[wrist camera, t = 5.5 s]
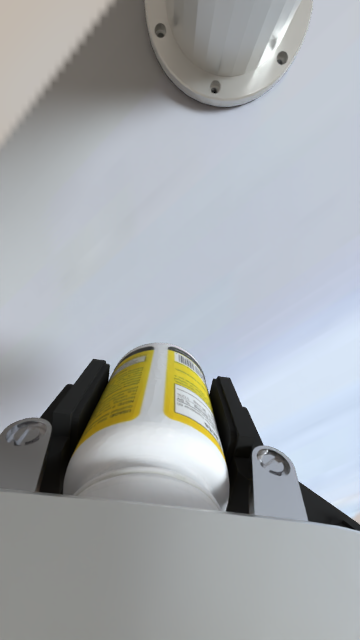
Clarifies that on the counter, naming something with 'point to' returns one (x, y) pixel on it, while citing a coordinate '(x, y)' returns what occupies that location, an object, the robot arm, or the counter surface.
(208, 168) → the counter surface
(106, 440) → the supplement bottle
